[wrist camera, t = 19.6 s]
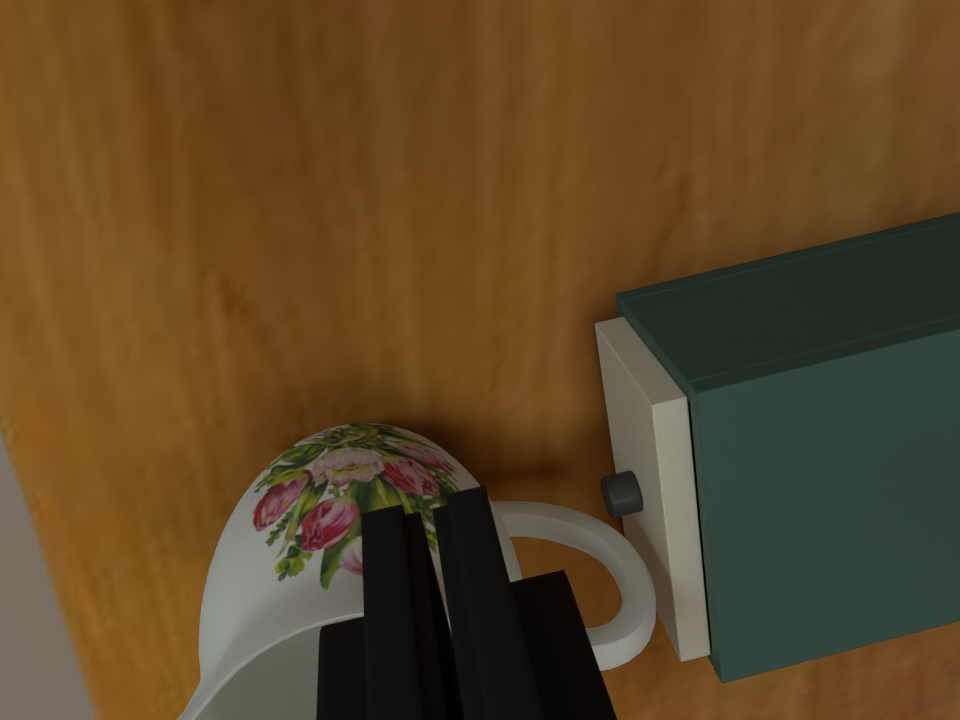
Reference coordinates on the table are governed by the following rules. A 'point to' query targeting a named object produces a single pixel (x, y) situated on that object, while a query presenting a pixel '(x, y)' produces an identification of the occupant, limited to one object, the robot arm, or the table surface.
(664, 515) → the drawer
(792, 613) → the cabinet
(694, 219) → the table surface
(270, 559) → the pitcher
